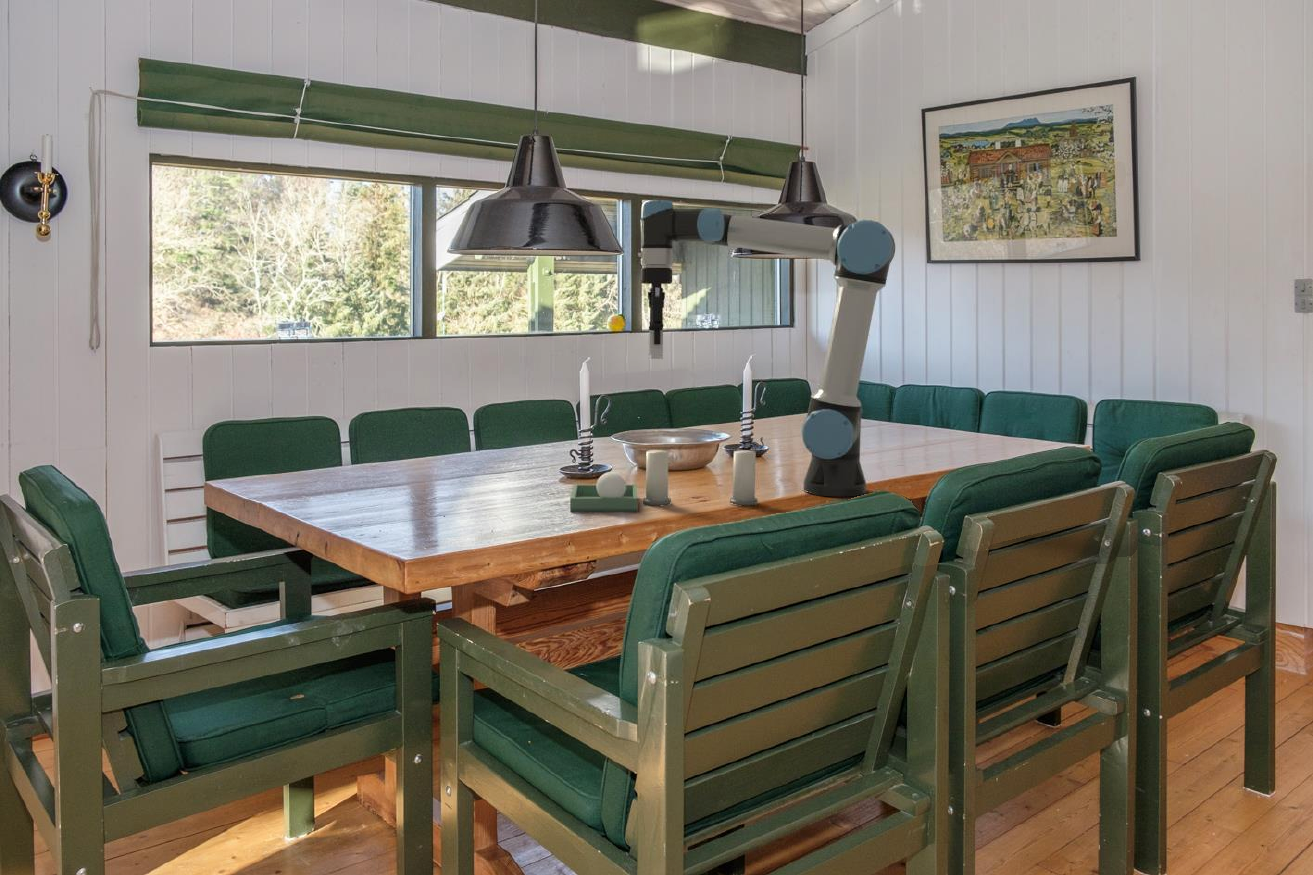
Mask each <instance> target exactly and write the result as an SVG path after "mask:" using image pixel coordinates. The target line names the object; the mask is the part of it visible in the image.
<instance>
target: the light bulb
mask: <svg viewBox="0 0 1313 875" xmlns="http://www.w3.org/2000/svg"><path fill="white" fill-rule="evenodd" d="M596 485H597V486H596V488H597V492H598V494H599V497H600V498H621V497H622V496H623V495H624V493H625V491H626V485H627V483H626V480H625V478H624V476H622V475H621V474H620V473H618V472H616V471H607V472H604V473H603V474H602V475H601V476H600V477H599V478H598V479H597V481H596Z"/></svg>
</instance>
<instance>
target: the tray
mask: <svg viewBox="0 0 1313 875" xmlns="http://www.w3.org/2000/svg"><path fill="white" fill-rule="evenodd" d="M596 486H597V484H573V486H572V491H571V494H570V499H569V500H570V508H569V509H570V513H572V512H573V513H575V512H576V513H577V512H579V513H589V512H592V513H595V512H596V513H604V512H605V513H607V512H608V513H616V512H617V513H622V512H623V513H626V512H628V513H637V512H638V507H639V506H638V505H639V504H638V499H639V498H638V486H637V484H626V491H625V493H624V495H623V496H622V497H621V498H600V497H599V494H598V492H597V488H596Z"/></svg>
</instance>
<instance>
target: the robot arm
mask: <svg viewBox="0 0 1313 875" xmlns="http://www.w3.org/2000/svg"><path fill="white" fill-rule="evenodd" d="M640 213H641V214H640V220H639V221H640V251H641V252H638V253H637V255H638V257H640V265H641V266H643V267H641V268H640V283H641V284H644V285H645V284H646V285H647V284H648V285H650V286H651V287H650V288H649V291H648V292H647V299H648V308H649V322H648V323H649V325H648V331H649V355H648V356H650V359H651V360H653V359H654V360H656V359H657V360H662V359H664V358H663V356H664V355H663V354H664V347H663V346H664V331H663V330H664V313H663V312H664V310H663V309H664V308H665V299H666V292H665V291H664V288H663V287H662V285H670V284H672V283H673V269H672V268H671V267H672V266H673V265H674V264H673V263H674V262H673V258H674V256H673V251H674V250H673V242H697V243H703V244H707V245H711V246H715V245H716V246H723V247H733V248H740V249H746V250H754V251H759V252H760V251H761V252H766V253H775V254H783V255H788V256H789V255H791V256H798V257H803V258H812V259H816V260H817V259H819V260H825V261H830V262H831V264H832V265H833V266H835V268H834V269H835V270H834V275H833V278H834V280H835V281H836V283H837V284H838V291H837V295H836V299H835V305H834V306H835V307H834V310H833V317H832V321H831V327H830V330H829V331H830V332H829V338H828V341H827V347H826V352H825V358H824V363H823V366H822V367H823V368H822V372H821V377H820V381H819V382H820V383H819V388H818V389H817V390H816V391H815V392H813V393H812V394H811V396H810V400H809V404H808V405H809V406H808V410H807V415H806V418H805V420H804V422H803V424H802V426H801V437H802V438H801V439H802V441H803V444H804V446H805V448H806V449H807V451H809V453H811V459H810V462H809V465H808V469H807V471H806V474H805V476H804V480H803V489H804V490H806V491H808V492H811V493H812V494H811V495H815V496H816V495H817V496H823V497H838V498H839V497H841V498H843V497H844V498H845V497H857V496H862V495H865V494H866V493H867V482H866V479H865V476H864V471H863V469H862V465H861V459H860V458H861V456H860V455H861V433H862V432H861V429H862V414H863V409H862V402H861V400H860V399H859V398H858V397H857V394H858V388H859V384H860V379H861V376H862V375H861V374H862V370H863V363H864V359H865V354H866V348H867V344H868V339H869V335H870V328H871V324H872V319H873V314H874V309H875V304H876V300H877V295H878V292H879V291H881V290H882V289H884V287H886V284H887V279H888V273H889V271H890V270H889V269H890V265H891V263H892V261H893V260H894V257H895V253H896V243H895V240H894V237H893V234H892V233H891V232H890V231H889V230H888V229H887V227H885V226H884V225H883V224H882V223H880V222H879V221H876V220H875V221H874V220H871V219H870V220H868V219H867V220H866V219H862V220H858V221H855V222H852V223H851V224H850V225H847V224H839V225H838V226H837V227H826V226H821V225H819V226H818V225H812V224H804V223H795V222H789V221H788V222H787V221H781V220H774V219H773V220H772V219H766V218H765V219H764V218H758V217H757V218H756V217H749V216H742V215H741V216H740V215H734V214H733V215H732V214H727V213H726V214H725V213H723V211H722V210H721V209H719V208H712V207H711V208H709V207H705V208H683V209H682V208H680V209H679V208H674V204H673V201H671V200H665V199H650V200H645V201H644V202H643V203H642V204H641V212H640ZM804 490H803V491H804Z"/></svg>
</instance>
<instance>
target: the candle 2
mask: <svg viewBox="0 0 1313 875" xmlns="http://www.w3.org/2000/svg"><path fill="white" fill-rule="evenodd" d="M756 456H757V454H756V451H754V450H745V449H744V450H734V451H733V465H732V466H733V467H732V469H733V472H732V474H733V475H732V477H733V480H732V485H733V486H732V497H730V498H729V504H730V503H733V504H737V505H741V506H740V507H754V506H753V505H755V504H756V503H757V502H759V501H758V498H757V497H756V495H755V494H756V459H757V458H756ZM751 505H752V506H751ZM755 506H756V505H755Z"/></svg>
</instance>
